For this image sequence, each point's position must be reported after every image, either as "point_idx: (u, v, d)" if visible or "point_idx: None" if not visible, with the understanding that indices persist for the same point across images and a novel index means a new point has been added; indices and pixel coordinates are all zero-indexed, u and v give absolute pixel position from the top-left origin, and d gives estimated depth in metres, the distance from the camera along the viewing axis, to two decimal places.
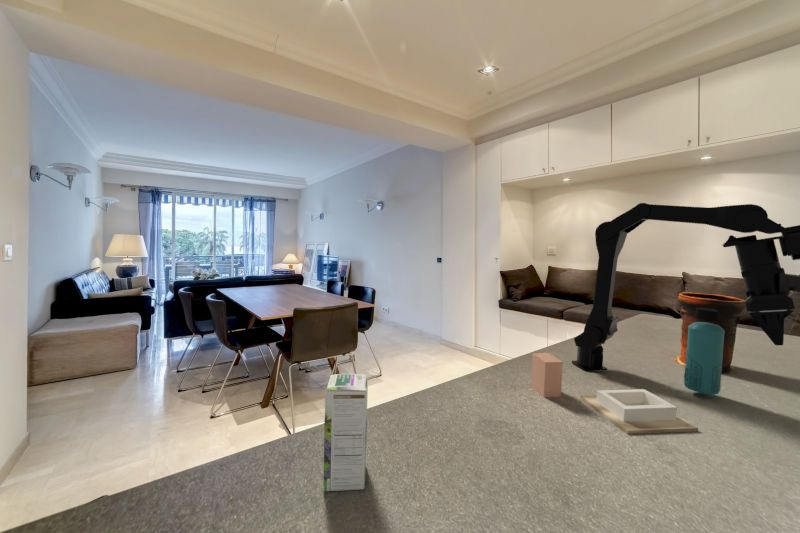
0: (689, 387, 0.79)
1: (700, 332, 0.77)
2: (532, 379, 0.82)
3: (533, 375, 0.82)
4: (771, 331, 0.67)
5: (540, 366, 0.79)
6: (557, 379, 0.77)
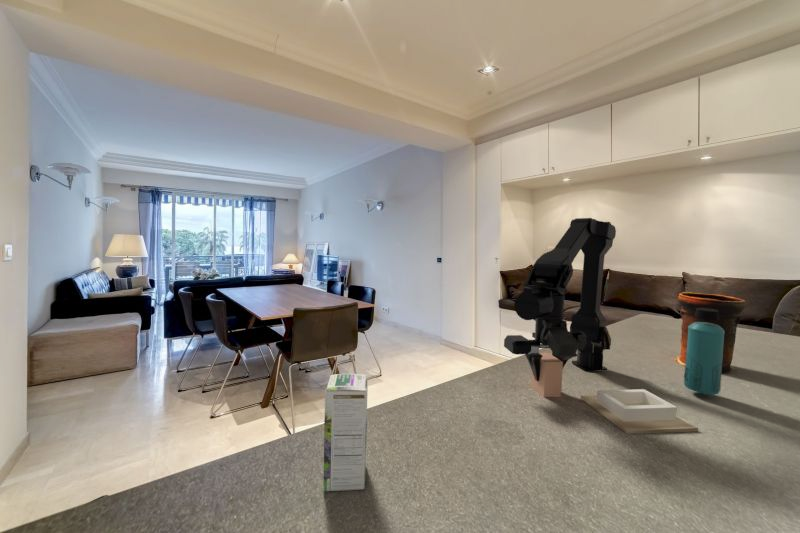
0: (689, 387, 0.79)
1: (700, 332, 0.77)
2: (532, 379, 0.82)
3: (533, 375, 0.82)
4: (532, 367, 0.80)
5: (540, 366, 0.79)
6: (557, 379, 0.77)
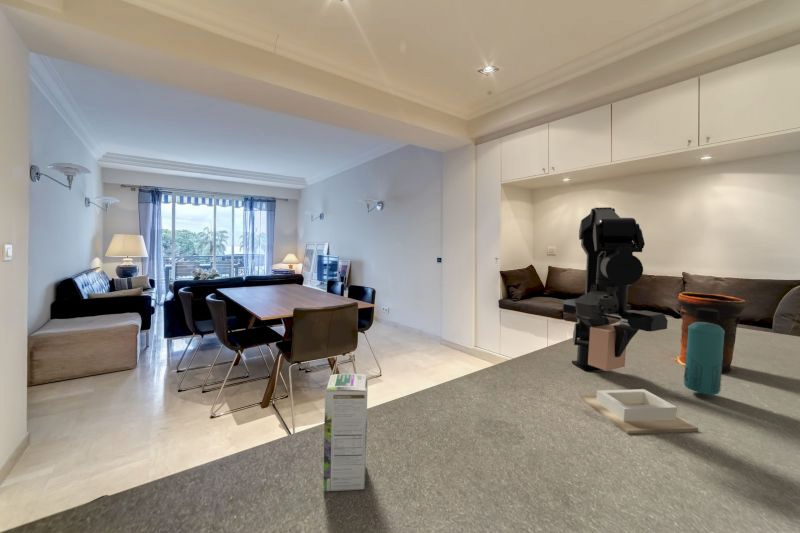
0: (689, 387, 0.79)
1: (700, 332, 0.77)
2: None
3: None
4: None
5: None
6: (602, 349, 0.70)
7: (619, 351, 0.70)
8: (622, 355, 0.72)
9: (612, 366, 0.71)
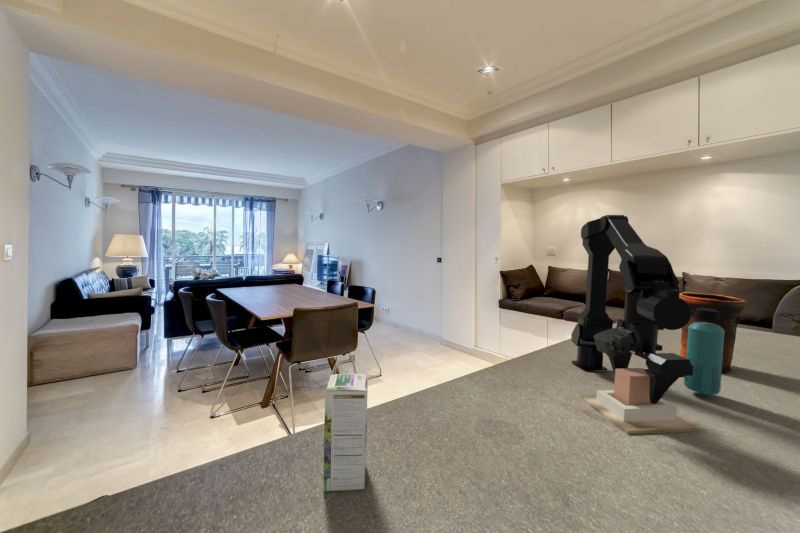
0: (689, 387, 0.79)
1: (700, 332, 0.77)
2: None
3: None
4: None
5: None
6: (625, 393, 0.69)
7: (654, 397, 0.65)
8: None
9: None
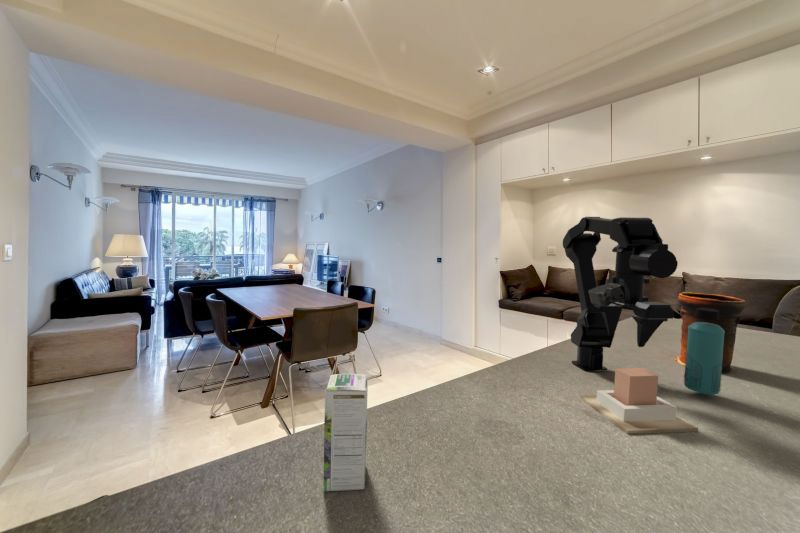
0: (689, 387, 0.79)
1: (700, 332, 0.77)
2: None
3: None
4: None
5: None
6: (625, 393, 0.69)
7: (641, 341, 0.75)
8: (651, 402, 0.69)
9: None
